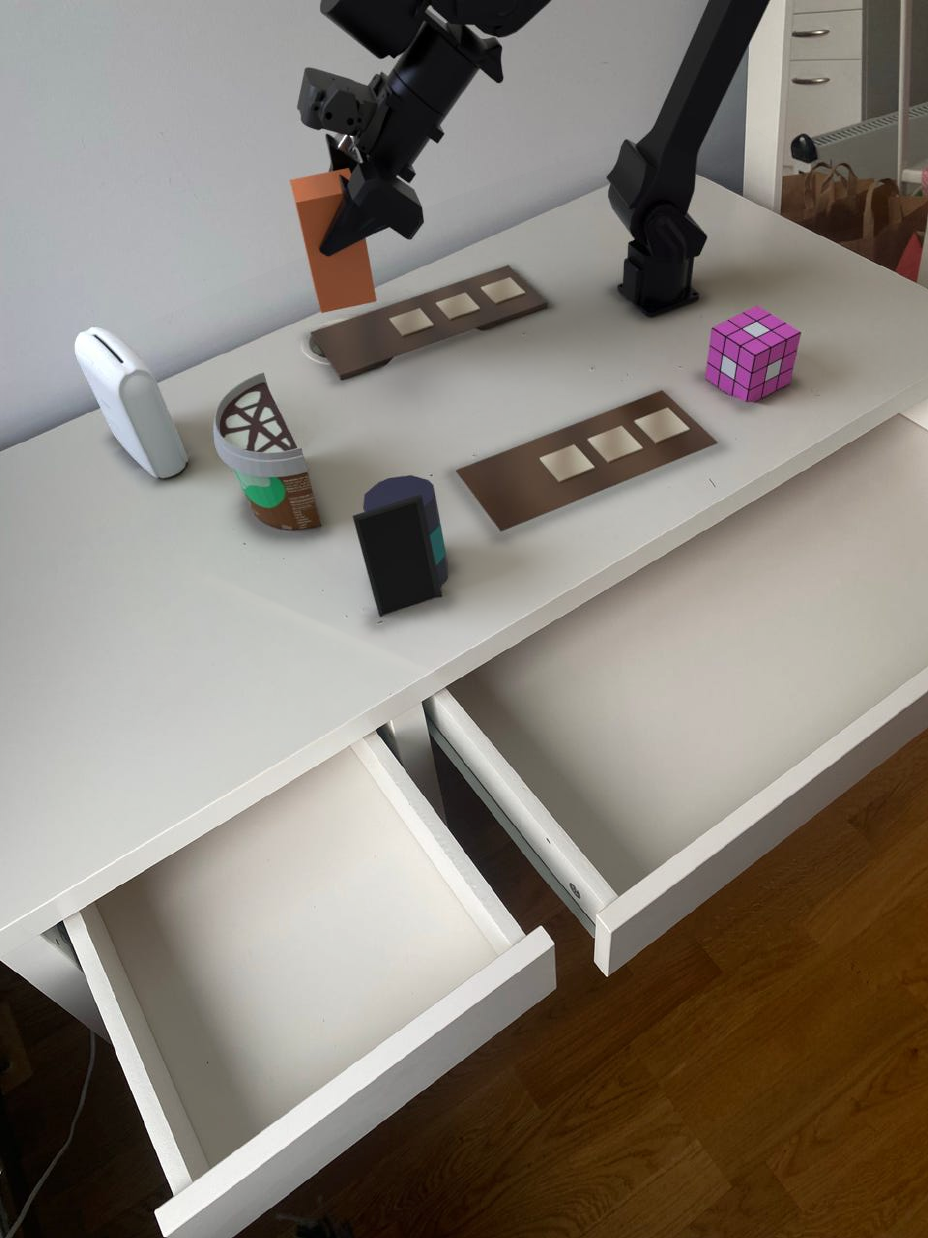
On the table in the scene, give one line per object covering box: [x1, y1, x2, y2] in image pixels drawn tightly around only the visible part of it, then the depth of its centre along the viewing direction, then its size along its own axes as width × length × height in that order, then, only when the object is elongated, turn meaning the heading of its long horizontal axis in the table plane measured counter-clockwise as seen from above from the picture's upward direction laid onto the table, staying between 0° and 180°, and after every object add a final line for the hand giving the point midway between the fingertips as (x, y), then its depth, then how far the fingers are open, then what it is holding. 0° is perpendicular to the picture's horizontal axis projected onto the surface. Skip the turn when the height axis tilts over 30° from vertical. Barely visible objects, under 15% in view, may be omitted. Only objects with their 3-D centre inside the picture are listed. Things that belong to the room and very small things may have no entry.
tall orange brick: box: [289, 168, 378, 314], centre depth 88 cm, size 6×4×11 cm
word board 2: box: [455, 389, 719, 532], centre depth 85 cm, size 22×9×1 cm, turn 116°
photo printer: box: [74, 326, 189, 479], centre depth 87 cm, size 10×4×12 cm, turn 39°
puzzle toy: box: [704, 305, 802, 403], centre depth 88 cm, size 6×6×6 cm
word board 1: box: [310, 264, 548, 381], centre depth 101 cm, size 24×9×1 cm, turn 116°
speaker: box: [352, 474, 449, 618], centre depth 74 cm, size 8×6×10 cm
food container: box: [213, 371, 322, 532], centre depth 81 cm, size 12×6×10 cm, turn 23°
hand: (319, 240), depth 88 cm, fingers closed on tall orange brick, 4 cm apart
